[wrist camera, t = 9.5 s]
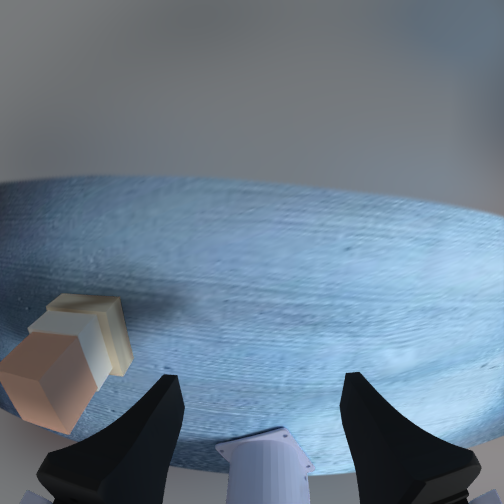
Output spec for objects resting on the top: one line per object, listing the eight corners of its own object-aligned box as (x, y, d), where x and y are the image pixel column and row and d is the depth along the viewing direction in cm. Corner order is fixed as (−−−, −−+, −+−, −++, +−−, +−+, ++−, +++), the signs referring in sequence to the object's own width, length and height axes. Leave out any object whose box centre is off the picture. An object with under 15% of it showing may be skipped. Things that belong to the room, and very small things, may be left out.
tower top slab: (96, 314, 20) (77, 335, 17) (112, 368, 22) (98, 391, 19) (47, 310, 21) (27, 327, 18) (65, 360, 22) (48, 380, 19)
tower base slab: (121, 294, 23) (105, 312, 20) (135, 355, 25) (123, 376, 22) (64, 291, 23) (45, 306, 20) (80, 348, 25) (65, 366, 22)
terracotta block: (77, 336, 17) (38, 381, 13) (97, 387, 19) (69, 434, 14) (32, 331, 18) (-7, 368, 13) (53, 380, 19) (22, 419, 14)
